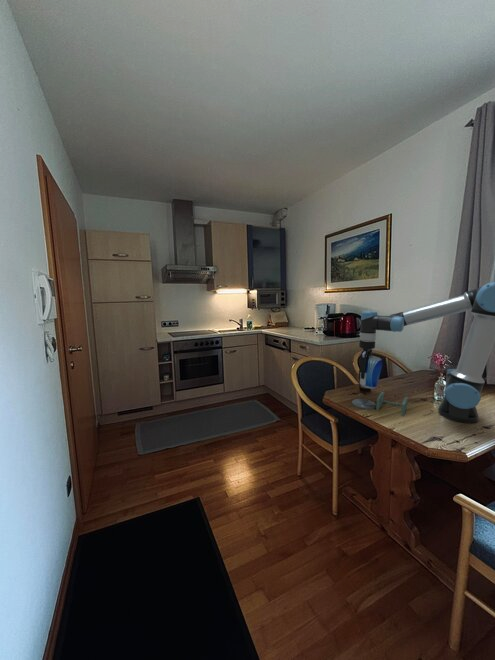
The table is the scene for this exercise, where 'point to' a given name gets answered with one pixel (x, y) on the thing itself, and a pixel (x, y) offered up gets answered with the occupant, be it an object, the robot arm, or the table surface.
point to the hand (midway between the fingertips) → (364, 381)
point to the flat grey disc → (364, 404)
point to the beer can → (373, 372)
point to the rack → (381, 400)
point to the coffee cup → (363, 389)
